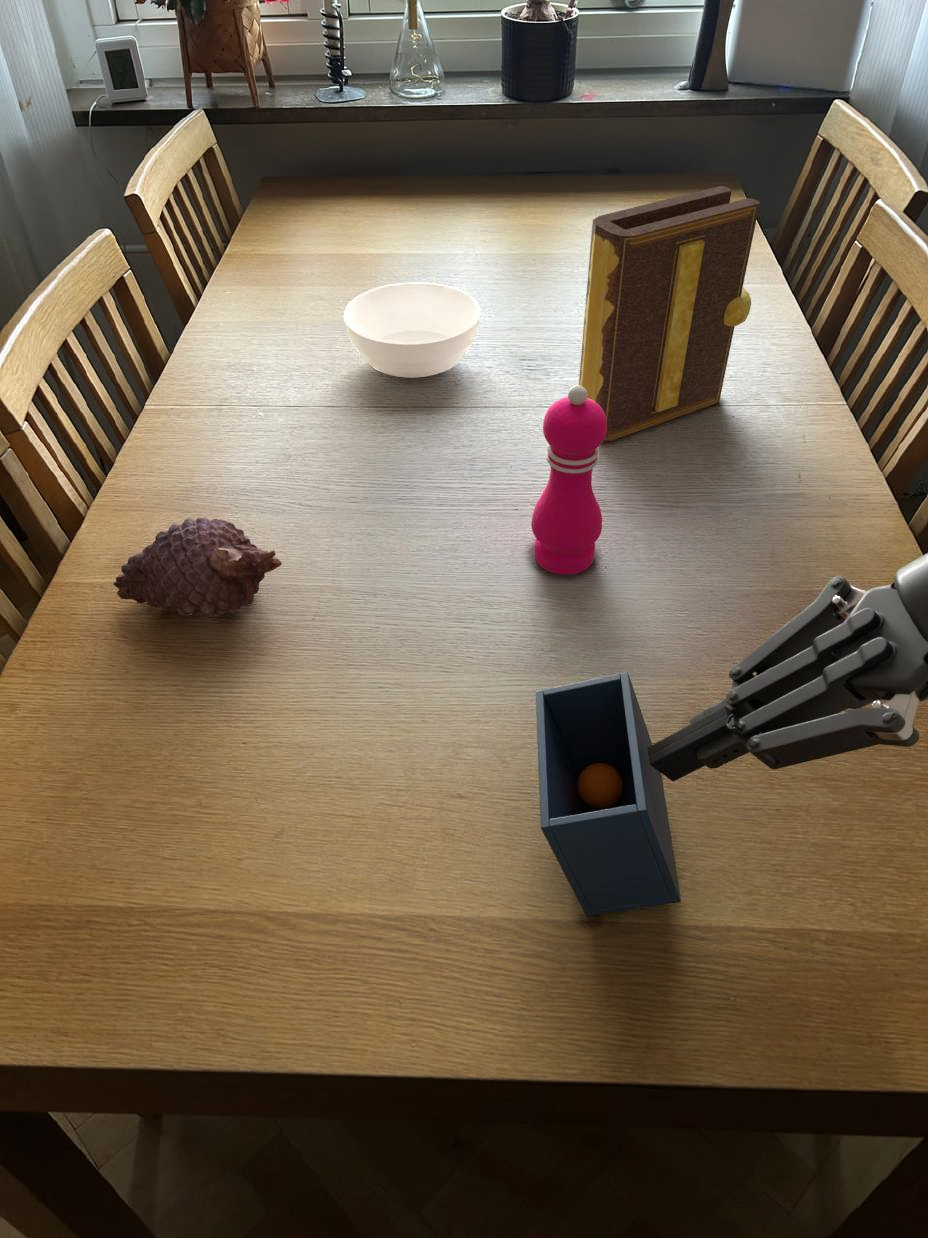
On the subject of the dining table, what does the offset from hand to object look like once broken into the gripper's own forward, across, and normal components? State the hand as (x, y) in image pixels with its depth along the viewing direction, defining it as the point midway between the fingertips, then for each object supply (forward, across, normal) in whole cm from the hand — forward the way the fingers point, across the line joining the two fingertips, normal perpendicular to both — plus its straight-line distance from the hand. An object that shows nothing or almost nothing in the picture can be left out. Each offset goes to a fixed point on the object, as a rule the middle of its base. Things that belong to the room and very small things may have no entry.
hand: (660, 764), depth 65 cm
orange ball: (+7, +3, -4) cm, 9 cm away
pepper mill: (+11, +35, -4) cm, 37 cm away
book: (+2, +65, -13) cm, 66 cm away
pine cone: (+36, +28, +21) cm, 50 cm away
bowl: (+24, +77, +9) cm, 81 cm away
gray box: (+8, 0, -5) cm, 9 cm away
